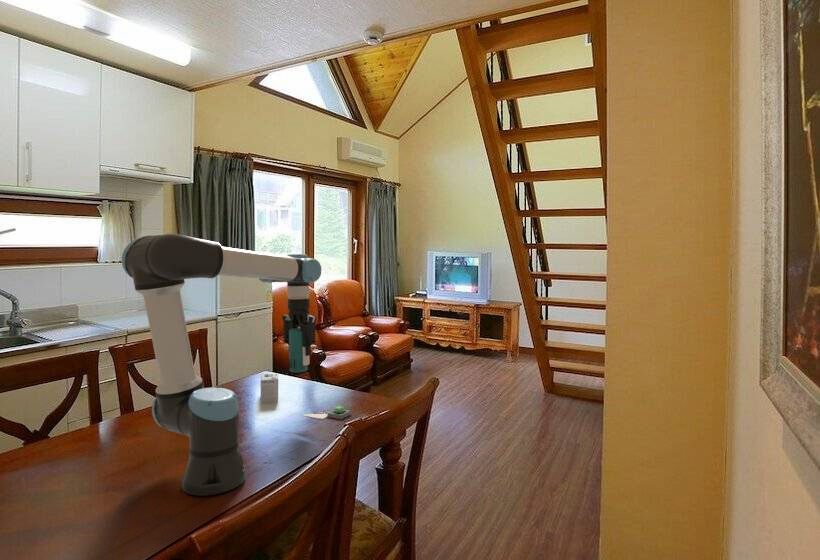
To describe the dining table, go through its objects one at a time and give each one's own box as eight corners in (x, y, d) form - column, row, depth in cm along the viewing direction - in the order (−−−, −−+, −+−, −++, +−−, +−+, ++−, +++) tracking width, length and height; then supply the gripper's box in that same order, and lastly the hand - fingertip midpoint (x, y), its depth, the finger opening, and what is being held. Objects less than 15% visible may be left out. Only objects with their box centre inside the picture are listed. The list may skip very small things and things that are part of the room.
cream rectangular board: (322, 419, 160) (322, 418, 160) (295, 414, 165) (295, 413, 165) (348, 407, 174) (348, 406, 174) (323, 403, 179) (323, 402, 179)
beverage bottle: (310, 372, 164) (309, 317, 164) (304, 377, 157) (303, 319, 157) (292, 372, 165) (292, 317, 164) (286, 376, 158) (285, 319, 158)
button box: (341, 419, 160) (341, 415, 160) (327, 417, 162) (327, 412, 162) (350, 414, 165) (350, 410, 165) (337, 412, 168) (337, 408, 168)
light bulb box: (260, 400, 184) (260, 374, 184) (278, 399, 186) (277, 373, 186) (260, 408, 174) (260, 379, 174) (278, 406, 176) (278, 378, 176)
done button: (340, 413, 161) (340, 409, 161) (332, 412, 163) (332, 408, 163) (345, 411, 164) (345, 407, 164) (338, 409, 166) (338, 405, 166)
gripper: (325, 297, 159) (327, 364, 160) (286, 297, 167) (287, 360, 168) (311, 299, 152) (313, 368, 153) (271, 298, 161) (273, 364, 161)
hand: (299, 364), depth 161 cm, fingers closed on beverage bottle, 5 cm apart
